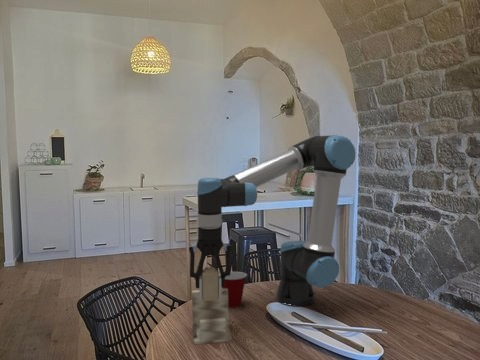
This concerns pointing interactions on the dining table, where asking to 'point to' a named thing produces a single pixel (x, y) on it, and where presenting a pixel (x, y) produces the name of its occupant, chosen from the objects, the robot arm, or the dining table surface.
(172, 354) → the dining table surface
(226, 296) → the beige u-shaped bracket
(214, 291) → the candle
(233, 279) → the plastic cup
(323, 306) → the dining table surface
